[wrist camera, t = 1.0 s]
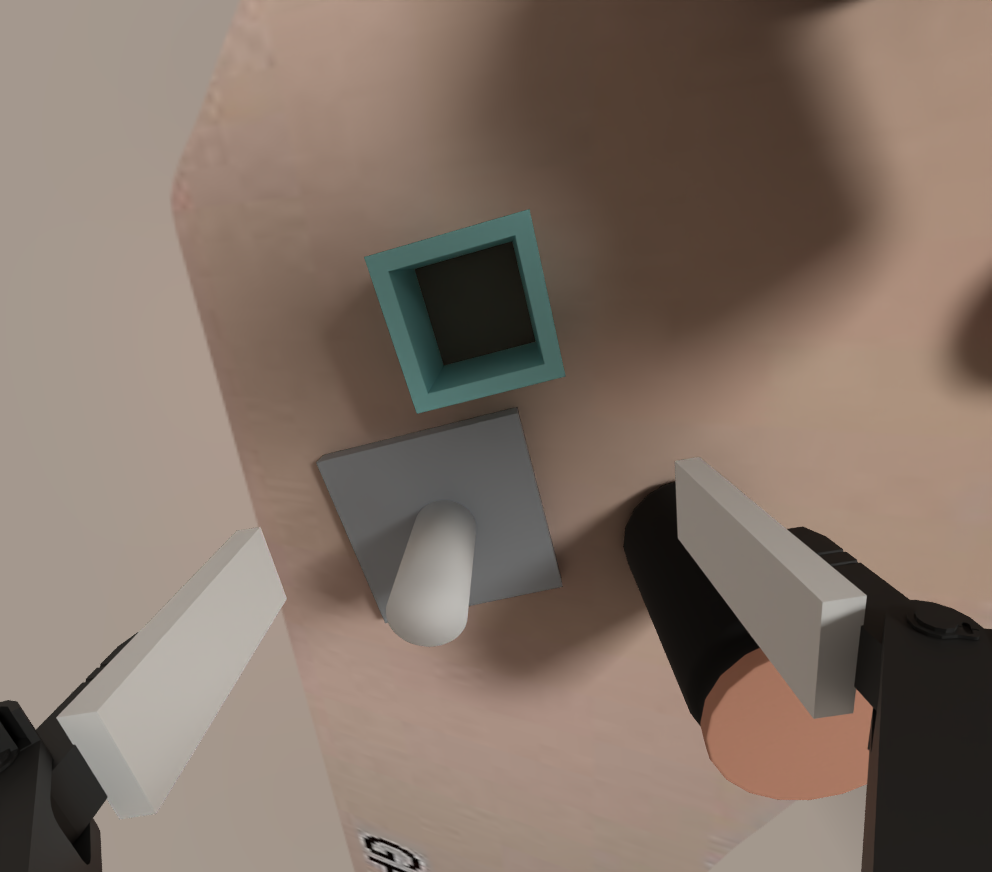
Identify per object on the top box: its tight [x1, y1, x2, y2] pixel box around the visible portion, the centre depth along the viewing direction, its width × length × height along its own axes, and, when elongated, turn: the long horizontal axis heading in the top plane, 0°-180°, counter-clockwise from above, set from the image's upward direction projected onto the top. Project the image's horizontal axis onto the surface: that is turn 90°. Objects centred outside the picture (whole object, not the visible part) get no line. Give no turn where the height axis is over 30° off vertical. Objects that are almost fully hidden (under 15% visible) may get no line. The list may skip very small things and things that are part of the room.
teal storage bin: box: [364, 209, 565, 414], centre depth 30 cm, size 9×9×8 cm
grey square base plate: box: [316, 407, 563, 647], centre depth 34 cm, size 16×16×12 cm
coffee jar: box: [623, 482, 873, 800], centre depth 31 cm, size 11×11×18 cm
